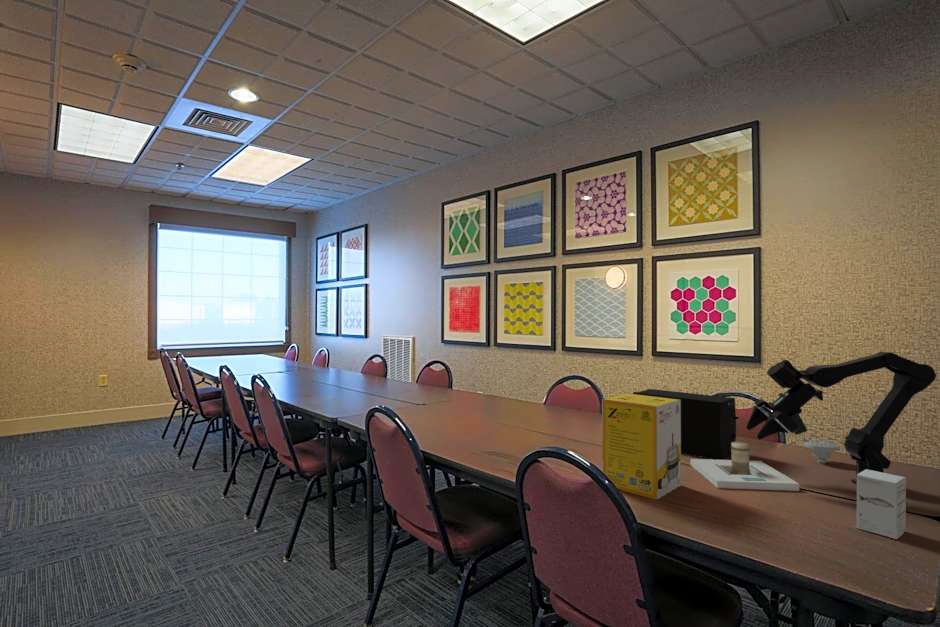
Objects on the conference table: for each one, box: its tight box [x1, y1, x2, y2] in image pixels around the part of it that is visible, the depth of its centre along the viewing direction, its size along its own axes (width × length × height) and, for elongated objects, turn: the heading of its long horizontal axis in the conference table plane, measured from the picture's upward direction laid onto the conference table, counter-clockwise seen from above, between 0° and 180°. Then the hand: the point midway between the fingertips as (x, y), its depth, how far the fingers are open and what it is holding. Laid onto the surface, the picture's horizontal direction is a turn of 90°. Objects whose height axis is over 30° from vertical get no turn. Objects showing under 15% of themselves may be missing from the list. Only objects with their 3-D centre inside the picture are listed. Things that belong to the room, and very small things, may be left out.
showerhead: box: [802, 438, 840, 464], centre depth 162 cm, size 9×7×10 cm
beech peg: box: [730, 441, 750, 475], centre depth 147 cm, size 5×5×10 cm
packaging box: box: [601, 393, 682, 501], centre depth 139 cm, size 16×16×25 cm
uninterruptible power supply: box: [632, 388, 739, 460], centre depth 179 cm, size 16×34×20 cm, turn 44°
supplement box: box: [856, 469, 907, 540], centre depth 109 cm, size 7×7×13 cm
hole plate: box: [689, 458, 800, 492], centre depth 147 cm, size 22×22×2 cm
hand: (752, 433), depth 146 cm, fingers open, 9 cm apart
